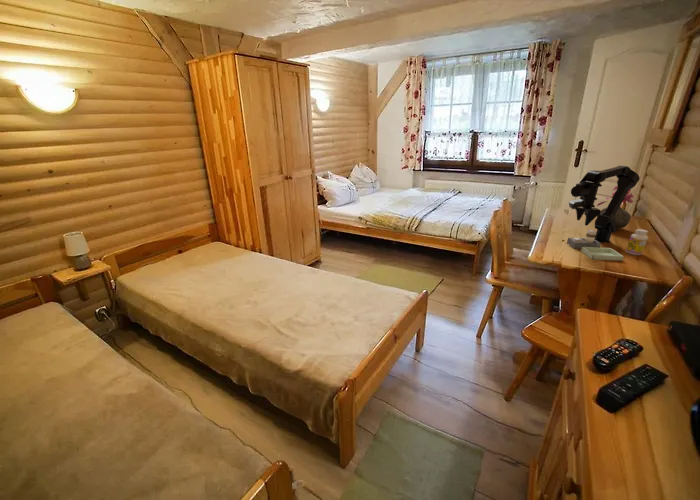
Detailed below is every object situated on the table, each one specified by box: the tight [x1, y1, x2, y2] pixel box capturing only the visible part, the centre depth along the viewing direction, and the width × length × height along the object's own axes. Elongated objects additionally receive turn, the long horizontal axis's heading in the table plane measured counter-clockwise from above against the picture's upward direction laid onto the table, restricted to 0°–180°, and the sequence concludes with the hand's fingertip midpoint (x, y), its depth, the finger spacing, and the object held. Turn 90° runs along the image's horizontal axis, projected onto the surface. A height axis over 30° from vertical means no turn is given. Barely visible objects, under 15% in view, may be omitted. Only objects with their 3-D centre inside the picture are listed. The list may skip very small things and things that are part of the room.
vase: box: [596, 185, 634, 230], centre depth 200 cm, size 17×18×30 cm
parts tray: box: [580, 247, 625, 262], centre depth 166 cm, size 14×11×2 cm
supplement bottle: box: [625, 228, 649, 256], centre depth 167 cm, size 7×7×13 cm
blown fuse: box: [584, 229, 597, 243], centre depth 176 cm, size 4×4×9 cm
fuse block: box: [566, 237, 602, 250], centre depth 178 cm, size 13×8×4 cm, turn 82°
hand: (582, 222), depth 177 cm, fingers open, 9 cm apart
